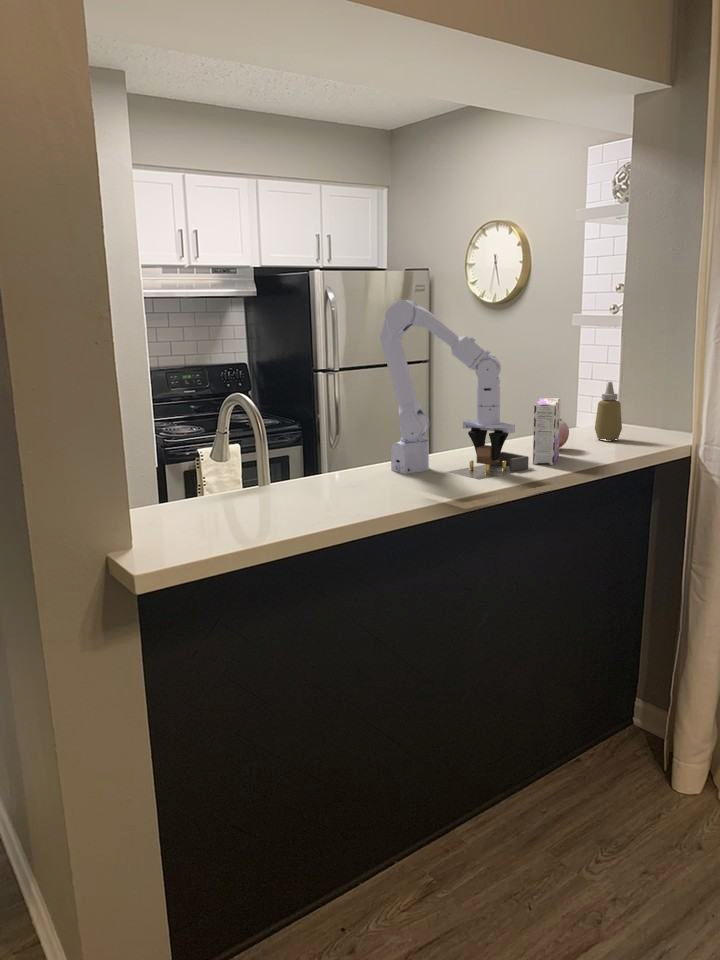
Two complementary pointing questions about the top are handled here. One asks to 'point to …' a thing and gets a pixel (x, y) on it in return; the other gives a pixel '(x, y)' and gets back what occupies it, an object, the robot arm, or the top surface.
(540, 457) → the candy box
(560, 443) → the decorative fruit
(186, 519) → the top surface
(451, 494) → the top surface
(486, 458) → the walnut block
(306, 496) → the top surface
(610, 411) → the squeeze bottle
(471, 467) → the base plate
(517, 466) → the housing
